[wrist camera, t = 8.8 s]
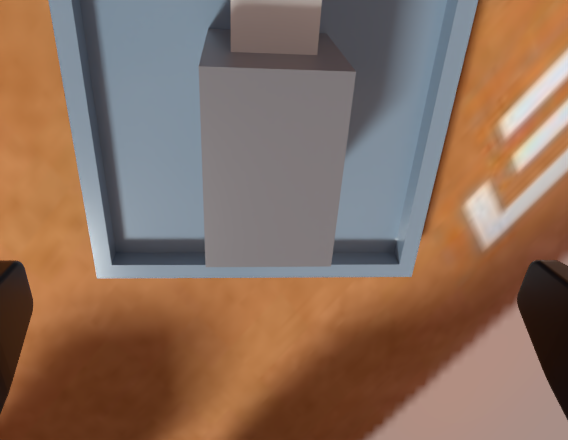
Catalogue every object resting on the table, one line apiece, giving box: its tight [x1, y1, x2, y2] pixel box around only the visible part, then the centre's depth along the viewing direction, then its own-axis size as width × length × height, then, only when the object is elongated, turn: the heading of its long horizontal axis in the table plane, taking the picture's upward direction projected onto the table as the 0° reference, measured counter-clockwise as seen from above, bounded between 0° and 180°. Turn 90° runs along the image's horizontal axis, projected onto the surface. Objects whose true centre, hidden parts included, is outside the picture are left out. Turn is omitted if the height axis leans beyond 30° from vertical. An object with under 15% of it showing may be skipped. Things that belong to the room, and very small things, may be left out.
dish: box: [49, 0, 478, 278], centre depth 16 cm, size 12×12×1 cm
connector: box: [199, 0, 356, 267], centre depth 14 cm, size 7×4×4 cm, turn 177°
